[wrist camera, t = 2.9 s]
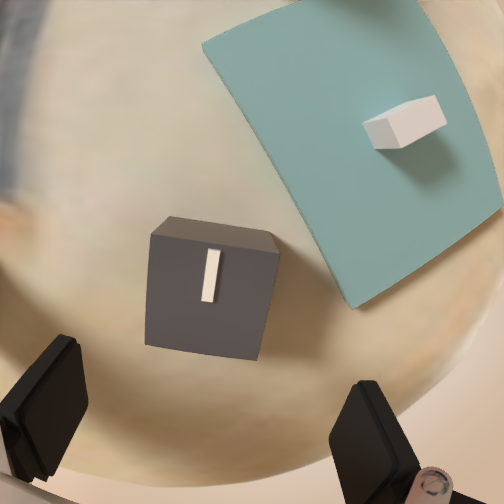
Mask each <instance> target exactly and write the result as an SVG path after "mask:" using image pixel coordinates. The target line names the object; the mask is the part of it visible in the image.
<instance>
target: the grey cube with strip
mask: <svg viewBox="0 0 504 504" xmlns="http://www.w3.org/2000/svg"><path fill="white" fill-rule="evenodd" d="M279 258H280V252H279V250H278V248H277V246H276V244H275V242H274V240H273V238H272V236H271V234H270V232H268V231H262V230H255V229H249V228H243V227H237V226H230V225H224V224H217V223H211V222H204V221H198V220H191V219H184V218H178V217H171V216H169V217H168V218H167V219H166V220H165V221H164V222H163V223H162V224H161V225H160V226H159V227H158V228H157V229H155V230H154V231H153V232H152V233H151V238H150V250H149V262H148V276H147V293H146V315H145V345H151V346H156V347H162V348H167V349H173V350H179V351H185V352H192V353H198V354H205V355H212V356H220V357H227V358H236V359H244V360H253V361H257V358H258V354H259V349H260V345H261V341H262V336H263V332H264V327H265V323H266V318H267V314H268V309H269V305H270V300H271V295H272V291H273V286H274V281H275V277H276V272H277V267H278V262H279Z"/></svg>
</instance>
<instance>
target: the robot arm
mask: <svg viewBox="0 0 504 504" xmlns="http://www.w3.org/2000/svg"><path fill="white" fill-rule="evenodd" d="M87 407H88V395H87V389H86V383H85V376H84V370H83V362H82V354H81V347H80V344H79V343H77V342H76V339H75V338H72V337H69V336H66V335H62V334H59V335H58V336H57V337H56V338H55V339H54V340H53V342H52V343H51V344H50V345H49V346H48V347H47V348H46V349H45V351H44V352H43V353H42V354H41V355H40V356H39V358H38V359H37V360H36V361H35V362H34V363H33V364H32V365H31V366H30V367H29V368H28V370H27V371H26V372H25V373H24V374H23V375H22V377H21V378H20V379H19V380H18V382H17V383H16V384H15V385H14V386H13V388H12V389H11V390H10V391H9V393H8V394H7V395H6V396H5V398H4V399H3V400H2V401H1V403H0V504H79V503H75V502H73V501H70V500H67V499H65V498H62V497H60V496H57V495H54V494H52V493H50V492H47V491H45V490H42V489H40V488H38V487H35V486H33V485H32V484H31V482H32V481H33V479H34V477H36V478H38V479H40V480H42V481H45V482H47V479H48V477H49V476H53V475H54V474H55V472H56V470H57V468H58V466H59V464H60V462H61V460H62V458H63V455H64V453H65V451H66V449H67V447H68V445H69V443H70V441H71V439H72V437H73V435H74V433H75V431H76V429H77V427H78V425H79V423H80V422H81V420H82V418H83V416H84V414H85V412H86V410H87ZM329 445H330V448H331V452H332V456H333V459H334V463H335V466H336V469H337V473H338V477H339V481H340V484H341V488H342V491H343V495H344V499H345V503H346V504H486V503H483V502H481V501H478V500H475V499H473V498H470V497H468V496H465V495H463V494H460V493H458V492H456V491H453V482H452V479H451V477H450V476H449V474H447V473H446V472H445V471H444V470H442V469H440V468H437V467H426V468H423V469H421V467H420V465H419V464H420V463H419V461H418V459H417V457H416V455H415V453H414V452H413V449H412V447H411V445H410V443H409V441H408V440H407V438H406V436H405V434H404V432H403V430H402V428H401V426H400V424H399V422H398V421H397V419H396V417H395V415H394V413H393V411H392V409H391V407H390V406H389V404H388V402H387V400H386V398H385V396H384V394H383V393H382V391H381V389H380V387H379V385H378V384H377V382H376V381H373V380H360V381H359V382H358V383H357V384H354V385H353V386H352V388H351V391H350V393H349V395H348V397H347V399H346V402H345V404H344V406H343V408H342V410H341V412H340V414H339V417H338V419H337V421H336V423H335V425H334V427H333V429H332V431H331V433H330V435H329Z"/></svg>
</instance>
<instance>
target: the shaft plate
mask: <svg viewBox="0 0 504 504" xmlns="http://www.w3.org/2000/svg"><path fill="white" fill-rule="evenodd" d="M201 45H202V48H203V52H204V53H205V55H206V56H207V58H208V59H209V61H210V62H211V64H212V65H213V67H214V68H215V70H216V71H217V73H218V75H219V76H220V78H221V79H222V81H223V82H224V84H225V86H226V87H227V89H228V90H229V92H230V94H231V95H232V97H233V98H234V100H235V102H236V103H237V105H238V106H239V108H240V110H241V111H242V113H243V115H244V116H245V118H246V119H247V121H248V123H249V124H250V126H251V128H252V129H253V131H254V133H255V134H256V136H257V138H258V140H259V141H260V143H261V145H262V146H263V148H264V150H265V151H266V153H267V155H268V157H269V158H270V160H271V162H272V164H273V165H274V167H275V169H276V171H277V172H278V174H279V176H280V178H281V179H282V181H283V183H284V185H285V187H286V188H287V190H288V192H289V194H290V196H291V197H292V199H293V201H294V203H295V205H296V206H297V208H298V210H299V212H300V214H301V216H302V218H303V219H304V221H305V223H306V225H307V227H308V229H309V231H310V233H311V234H312V236H313V238H314V240H315V242H316V244H317V246H318V248H319V250H320V252H321V254H322V256H323V257H324V259H325V261H326V263H327V265H328V267H329V269H330V271H331V273H332V275H333V277H334V279H335V281H336V283H337V285H338V287H339V289H340V291H341V293H342V295H343V297H344V299H345V301H346V303H347V304H348V305H349V307H350V308H351V309H352V310H353V309H355V308H356V307H358V306H360V305H361V304H363V303H365V302H366V301H368V300H370V299H371V298H373V297H375V296H376V295H378V294H379V293H381V292H383V291H384V290H386V289H387V288H389V287H391V286H392V285H394V284H395V283H397V282H398V281H400V280H401V279H403V278H405V277H406V276H408V275H409V274H411V273H412V272H414V271H415V270H417V269H418V268H420V267H421V266H423V265H424V264H426V263H427V262H428V261H430V260H431V259H433V258H434V257H436V256H437V255H439V254H440V253H441V252H443V251H444V250H446V249H447V248H449V247H450V246H451V245H453V244H454V243H455V242H457V241H458V240H460V239H461V238H462V237H464V236H465V235H466V234H468V233H469V232H470V231H472V230H473V229H474V228H476V227H477V226H478V225H480V224H481V223H482V222H484V221H485V220H486V219H487V218H489V217H490V216H491V215H492V214H494V213H495V212H496V211H497V210H499V209H500V208H501V207H502V206H504V203H503V198H502V194H501V190H500V186H499V182H498V178H497V174H496V171H495V167H494V164H493V161H492V157H491V154H490V151H489V148H488V145H487V142H486V139H485V136H484V133H483V130H482V128H481V125H480V122H479V120H478V117H477V114H476V112H475V109H474V107H473V104H472V102H471V100H470V97H469V95H468V93H467V90H466V88H465V86H464V84H463V82H462V79H461V77H460V75H459V73H458V71H457V69H456V67H455V65H454V63H453V61H452V59H451V57H450V55H449V53H448V51H447V50H446V48H445V46H444V44H443V42H442V41H441V39H440V37H439V35H438V34H437V32H436V30H435V28H434V27H433V25H432V24H431V22H430V20H429V19H428V17H427V15H426V14H425V12H424V11H423V9H422V8H421V6H420V5H419V3H418V2H417V0H301V1H298V2H295V3H293V4H290V5H287V6H284V7H282V8H279V9H276V10H274V11H271V12H269V13H266V14H264V15H261V16H259V17H257V18H254V19H252V20H250V21H247V22H245V23H243V24H241V25H238V26H236V27H234V28H232V29H230V30H228V31H226V32H224V33H222V34H220V35H218V36H216V37H214V38H212V39H210V40H208V41H206V42H204V43H202V44H201Z"/></svg>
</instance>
